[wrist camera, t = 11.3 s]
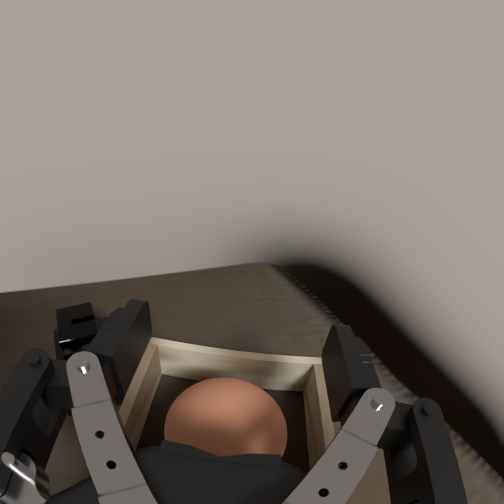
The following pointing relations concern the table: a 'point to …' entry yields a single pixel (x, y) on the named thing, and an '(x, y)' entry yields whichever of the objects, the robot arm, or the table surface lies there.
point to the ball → (227, 419)
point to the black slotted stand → (77, 334)
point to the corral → (232, 366)
